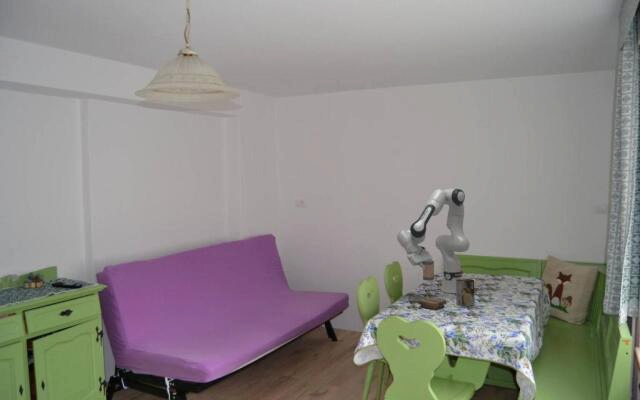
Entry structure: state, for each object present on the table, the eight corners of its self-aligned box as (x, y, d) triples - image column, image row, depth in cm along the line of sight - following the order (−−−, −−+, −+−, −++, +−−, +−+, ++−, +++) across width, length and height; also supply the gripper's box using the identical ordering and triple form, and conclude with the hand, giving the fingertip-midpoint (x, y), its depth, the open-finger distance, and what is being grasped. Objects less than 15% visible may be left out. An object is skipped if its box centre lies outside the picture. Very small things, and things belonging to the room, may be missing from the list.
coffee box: (469, 303, 314) (468, 278, 314) (474, 305, 308) (474, 279, 308) (456, 304, 312) (455, 279, 311) (461, 307, 306) (461, 280, 305)
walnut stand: (429, 303, 316) (429, 297, 315) (446, 306, 307) (446, 300, 307) (418, 307, 307) (418, 300, 307) (435, 310, 299) (435, 303, 298)
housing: (427, 278, 324) (427, 260, 323) (434, 279, 320) (433, 260, 320) (423, 279, 320) (422, 261, 320) (429, 280, 317) (429, 261, 316)
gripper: (408, 250, 317) (421, 267, 311) (426, 246, 332) (439, 262, 326) (402, 256, 321) (415, 273, 314) (420, 252, 335) (433, 268, 329)
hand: (427, 268), depth 320 cm, fingers closed on housing, 5 cm apart
